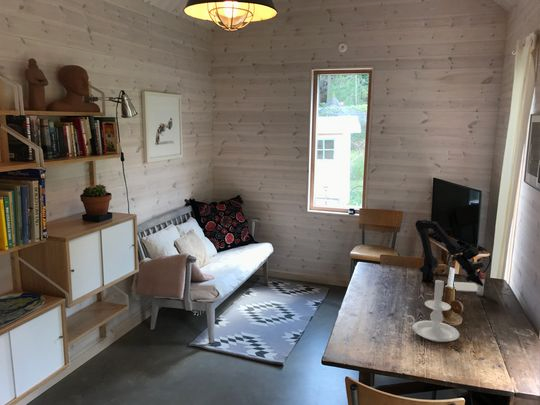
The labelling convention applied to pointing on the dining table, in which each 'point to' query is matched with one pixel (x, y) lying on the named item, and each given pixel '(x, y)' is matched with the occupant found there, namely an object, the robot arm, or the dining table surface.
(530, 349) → the dining table surface
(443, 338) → the candlestick
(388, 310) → the dining table surface
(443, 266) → the lion figurine
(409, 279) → the dining table surface
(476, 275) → the robot arm
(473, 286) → the notepad
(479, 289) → the marker
